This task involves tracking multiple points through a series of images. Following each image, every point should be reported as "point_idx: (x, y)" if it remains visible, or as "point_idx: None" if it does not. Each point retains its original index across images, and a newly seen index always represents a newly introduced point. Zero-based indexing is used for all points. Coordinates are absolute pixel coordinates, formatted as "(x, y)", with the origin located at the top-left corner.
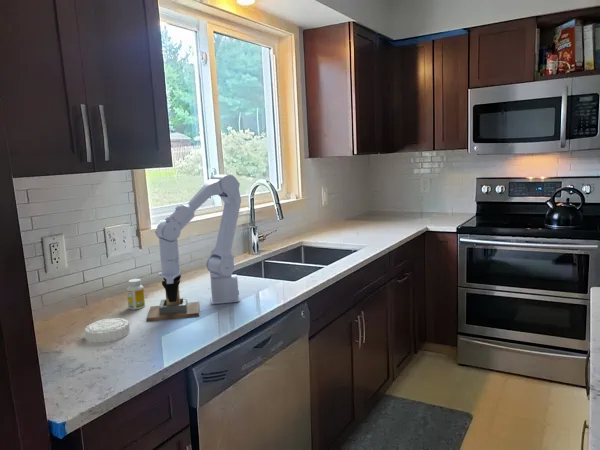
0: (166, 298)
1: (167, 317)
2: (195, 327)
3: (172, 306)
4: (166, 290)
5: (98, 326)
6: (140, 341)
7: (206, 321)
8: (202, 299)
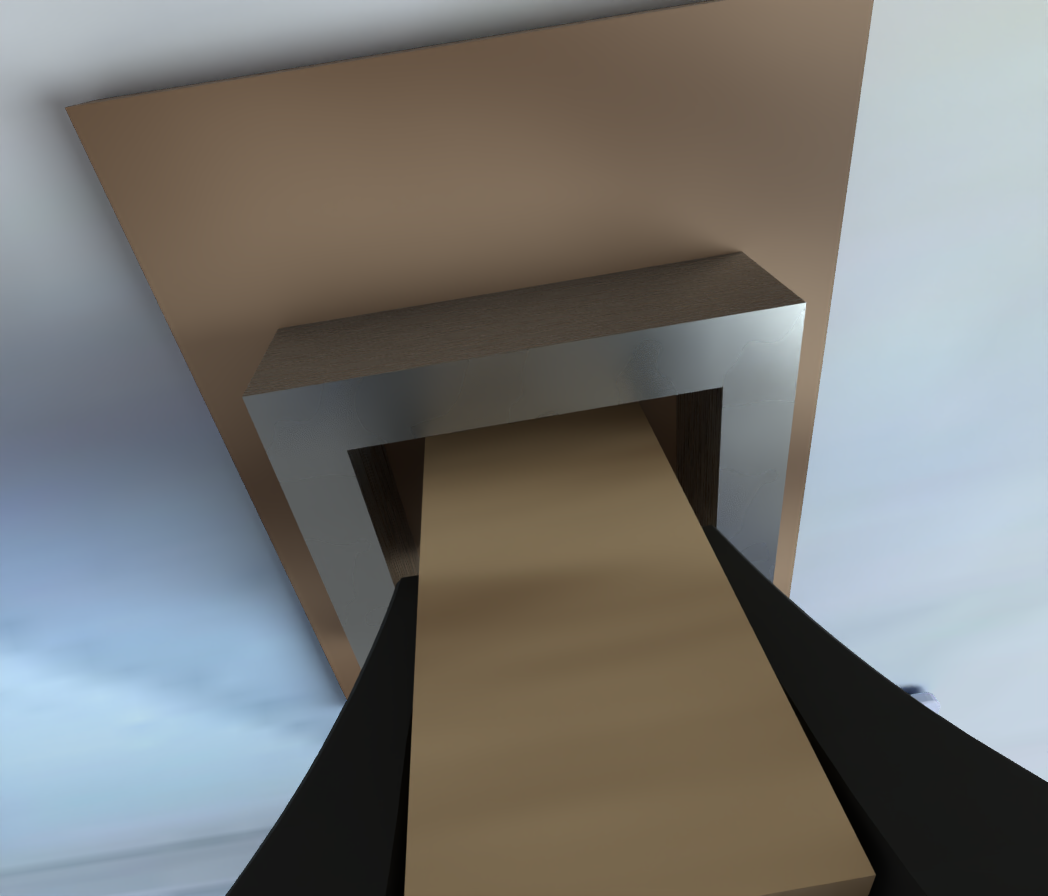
0: (421, 584)
1: (236, 446)
2: (12, 740)
3: (330, 587)
4: (270, 849)
5: None
6: None
7: (204, 776)
8: (941, 627)
